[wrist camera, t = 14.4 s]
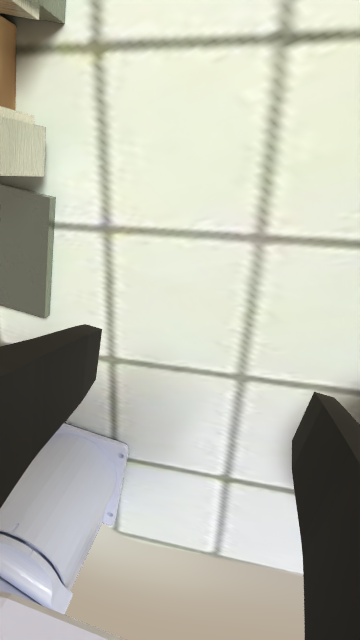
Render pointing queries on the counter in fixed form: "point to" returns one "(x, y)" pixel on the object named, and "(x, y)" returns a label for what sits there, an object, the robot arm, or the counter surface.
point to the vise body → (27, 211)
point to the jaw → (21, 144)
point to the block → (7, 64)
